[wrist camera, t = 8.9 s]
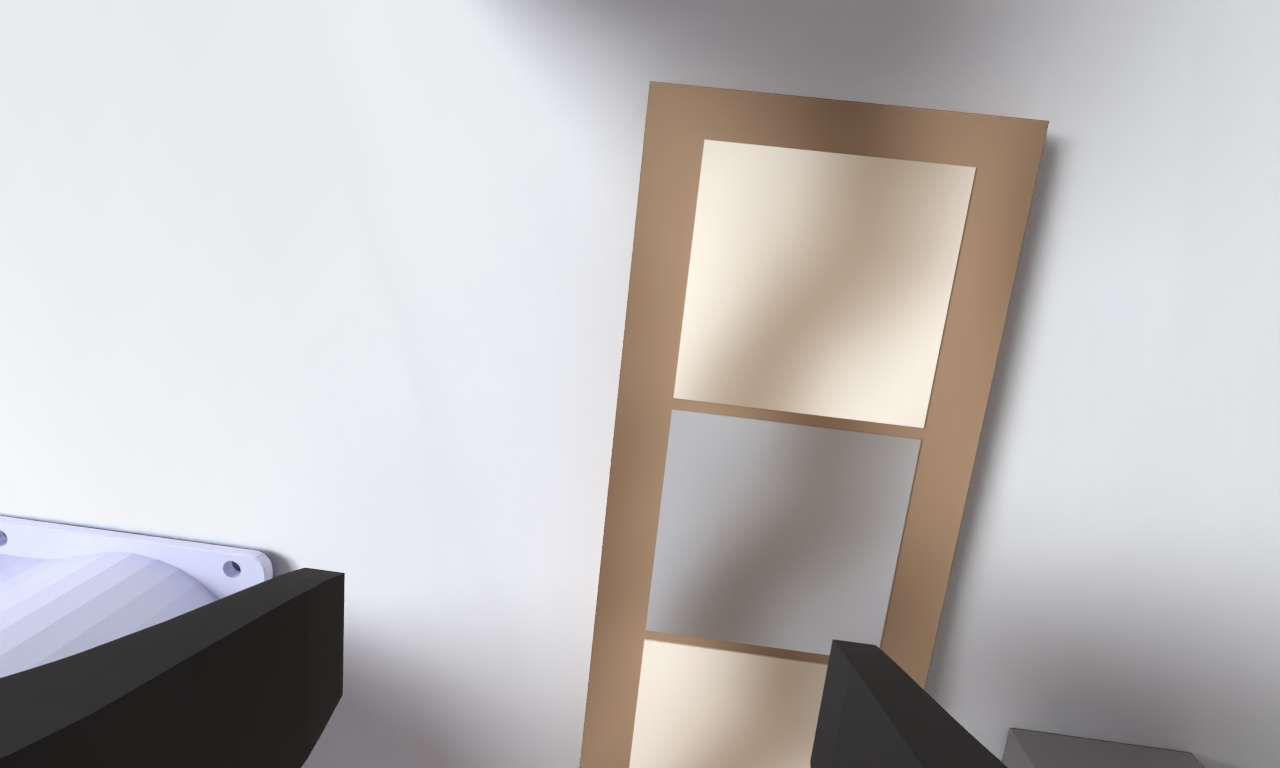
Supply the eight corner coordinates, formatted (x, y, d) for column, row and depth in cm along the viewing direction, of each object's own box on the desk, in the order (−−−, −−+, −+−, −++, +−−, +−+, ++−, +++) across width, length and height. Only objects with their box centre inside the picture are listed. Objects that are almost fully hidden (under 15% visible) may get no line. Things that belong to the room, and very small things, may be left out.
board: (559, 991, 24) (553, 1026, 23) (652, 89, 18) (650, 80, 17) (834, 1036, 23) (841, 1073, 22) (1028, 126, 17) (1050, 120, 16)
